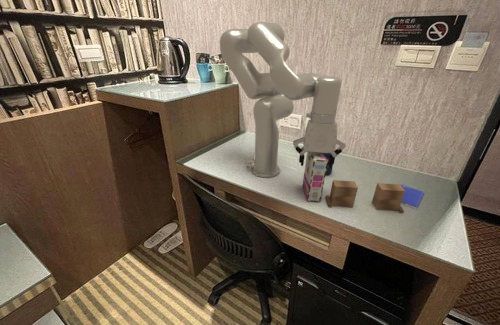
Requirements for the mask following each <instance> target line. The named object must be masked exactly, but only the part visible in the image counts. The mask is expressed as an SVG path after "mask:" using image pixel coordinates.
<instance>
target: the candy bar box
mask: <svg viewBox="0 0 500 325" xmlns="http://www.w3.org/2000/svg"><path fill="white" fill-rule="evenodd" d="M304 164H305V166H304V174H303V180H302V188H303V190H304V191H303V192H304V194H305V198H306V201H307V202H314V203H320V202H322V195H323V190H324V184H325V179H326V176H327V175H326V170H327V165H328V160H327V158H326V157H325V155H324V153H316V152H306V158H305V163H304Z"/></svg>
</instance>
